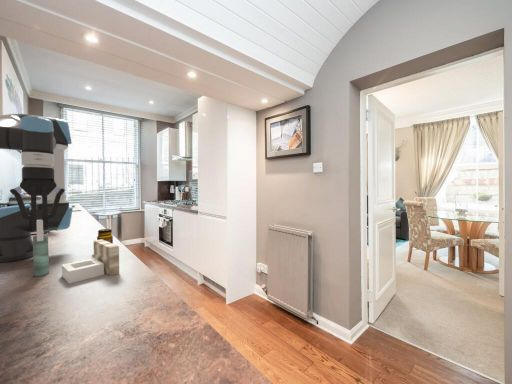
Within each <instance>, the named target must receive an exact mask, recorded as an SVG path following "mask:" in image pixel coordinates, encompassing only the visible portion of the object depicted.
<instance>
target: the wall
mask: <svg viewBox="0 0 512 384" xmlns="http://www.w3.org/2000/svg"><path fill="white" fill-rule="evenodd" d="M93 254H94V258H96V259H97V260H99V261H100V262H102V263H104V274H107V275H108V276H111V277H112V276H113V275H114V276H115V275H117V274H120V246H119V245H117V244H115V243H114V242H113V243H110V242H108V241H105V240H102V239H101V240H97V239H96V240H93Z"/></svg>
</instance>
